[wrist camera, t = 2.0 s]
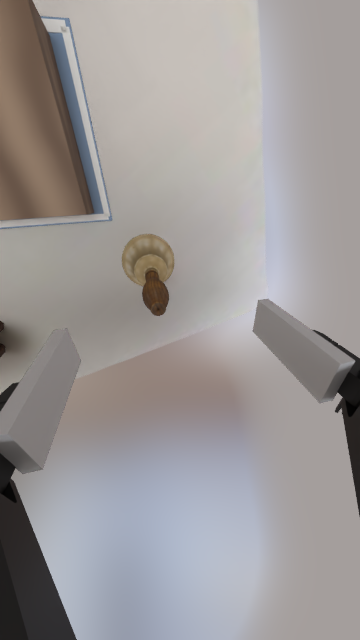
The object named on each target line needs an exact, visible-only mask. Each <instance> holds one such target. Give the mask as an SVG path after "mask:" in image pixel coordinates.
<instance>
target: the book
mask: <svg viewBox="0 0 360 640" xmlns="http://www.w3.org/2000/svg"><path fill="white" fill-rule="evenodd" d="M3 329H4V323H2V322H1V321H0V332H1V331H2V330H3ZM4 352H5V346H4V345H3V344H0V357H1V356H2V355H3V354H4Z"/></svg>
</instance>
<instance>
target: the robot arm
mask: <svg viewBox="0 0 360 640" xmlns="http://www.w3.org/2000/svg"><path fill="white" fill-rule="evenodd" d="M253 332H254V333H255V334H256V335H257V336H258V337H259V339H260V340H261V341H262V342H263V343H264V344H265V345H266V346H267V347H268V348H269V349H270V350H271V351H272V352H273V354H275V356H276V357H277V358H278V359H279V360H280V361H281V362H282V363H283V364H284V365H285V366H286V368H287V369H288V370H289V371H290V372H291V373H292V374H293V375H294V376H295V377H296V378H297V379H298V380H299V382H300V383H301V384H302V385H303V386H304V387H305V388H306V389H307V390H308V391H309V392H310V393H311V394H312V396H314V398H315V399H316V400H317V401H318V402H319V403H323V402H327V401H332V400H333V399H334V397H335V396H336V394H337V392H338V393H339V394H340V395H341V396H342V397H343V398H342V399H341V401H340V403H339V404H338V406H337V407H336V410H335V412H337V413H338V411H339V410H340V409H341V408H342V414H343V419H344V425H345V431H346V437H347V443H348V449H349V455H350V461H351V467H352V473H353V479H354V485H355V491H356V497H357V503H358V509H359V515H360V358H358V357H357V356H355V355H354V354H352V353H351V352H349V351H348V350H346V349H345V348H343V347H342V346H340V345H338V343H336V342H334V341H332V339H330V338H328V337H327V336H326V335H324V334H323V333H320V332H318V331H315V330H311V329H310V328H308V327H307V326H306V325H304V324H303V323H301V322H300V321H298V320H297V319H296V318H294V317H293V316H291V315H290V314H289V313H287V312H286V311H284V310H283V309H281V308H280V307H279V306H277V305H276V304H274V303H273V302H272V301H270V300H269V299H263V300H258V304H257V310H256V316H255V321H254V327H253ZM80 362H81V359H80V356H79V354H78V352H77V350H76V347H75V345H74V343H73V341H72V338H71V336H70V334H69V332H68V329H67V328H65V329H58V330H54V331H53V332H52V334H51V335H50V337H49V338H48V340H47V342H46V343H45V345H44V346H43V348H42V349H41V351H40V352H39V354H38V355H37V357H36V358H35V360H34V361H33V363H32V364H31V366H30V367H29V369H28V370H27V372H26V373H25V375H24V376H23V378H22V379H21V381H20V382H19V383H13V384H12V385H10V386H9V387H8V388H7V389H6V390H5V391H4V392H2V394H1V395H0V640H77V639H76V637H75V634H74V632H73V629H72V627H71V624H70V622H69V619H68V617H67V614H66V612H65V609H64V607H63V604H62V602H61V599H60V597H59V594H58V591H57V589H56V586H55V584H54V581H53V579H52V576H51V574H50V571H49V569H48V566H47V564H46V561H45V559H44V556H43V553H42V551H41V548H40V546H39V543H38V541H37V538H36V536H35V533H34V531H33V528H32V526H31V523H30V521H29V518H28V516H27V513H26V511H25V508H24V505H23V503H22V500H21V498H20V495H19V493H18V491H17V488H16V485H15V483H14V481H13V480H12V479H11V476H12V474H13V472H14V470H15V468H16V469H17V470H18V471H20V472H21V473H22V474H25V473H29V472H34V471H38V470H41V469H43V467H44V464H45V461H46V459H47V455H48V453H49V450H50V447H51V444H52V442H53V439H54V436H55V433H56V430H57V427H58V425H59V422H60V419H61V416H62V413H63V410H64V408H65V405H66V402H67V399H68V396H69V393H70V391H71V387H72V385H73V382H74V379H75V377H76V374H77V371H78V368H79V365H80Z"/></svg>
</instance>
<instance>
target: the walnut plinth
mask: <svg viewBox="0 0 360 640" xmlns="http://www.w3.org/2000/svg"><path fill="white" fill-rule="evenodd" d="M92 213H94V209H93V205H92V201H91V197H90V193H89V189H88V185H87V181H86V177H85V173H84V169H83V165H82V161H81V158H80V154H79V150H78V146H77V142H76V138H75V134H74V130H73V126H72V122H71V118H70V114H69V110H68V106H67V102H66V99H65V95H64V91H63V87H62V83H61V79H60V75H59V71H58V67H57V63H56V59H55V55H54V51H53V47H52V43H51V40H50V36H49V33H48V31H47V29H46V27H45V25H44V23H43V21H42V19H41V17H40V15H39V13H38V11H37V9H36V7H35V5H34V3H33V1H32V0H0V221H1V220H15V219H29V218H44V217H58V216H72V215H87V214H92Z"/></svg>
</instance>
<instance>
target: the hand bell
mask: <svg viewBox="0 0 360 640" xmlns="http://www.w3.org/2000/svg"><path fill="white" fill-rule="evenodd" d="M122 266H123V269H124V271H125V273H126V275H127V276H128V277H129V278H130V279H131V280H132V281H133V282H134V283H136V284H138V285H141V286H144V287H143V292H142V295H143V301H144V303H145V305H146V306H147V308H148V309H150V310H151V312H152V313H153V314H154V315H156V316H160V315H163V314H164V312H165V311H166V307H167V304H168V301H169V294H168V290H167V288H166V286H165V284H164V283H163V282H165V281H166V280H167V279H168V278H169V277H170V275H171V273H172V271H173V268H174V255H173V252H172V249H171V248H170V246H169V245H168V243H167V242H166V241H164V240H163V239H162V238H160V237H158V236H156V235H152V234H143V235H139V236H137V237H135V238H133V239H131V240H130V241H129V242H128V243H127V245H126V246H125V248H124V251H123V254H122Z"/></svg>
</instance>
